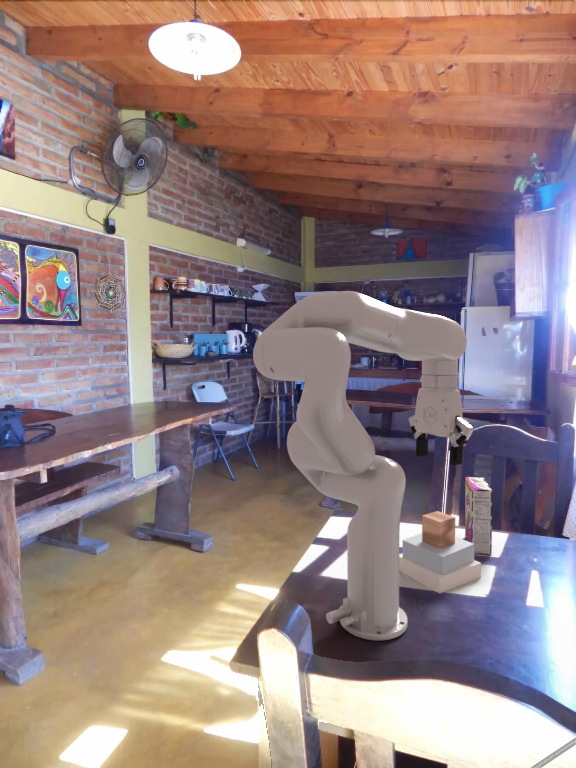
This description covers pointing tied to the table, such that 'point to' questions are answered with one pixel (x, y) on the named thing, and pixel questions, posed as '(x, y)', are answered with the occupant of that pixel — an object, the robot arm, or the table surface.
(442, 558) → the tower top
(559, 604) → the table surface
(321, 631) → the table surface
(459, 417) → the robot arm
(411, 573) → the tower base
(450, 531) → the terracotta block
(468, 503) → the candy bar box
